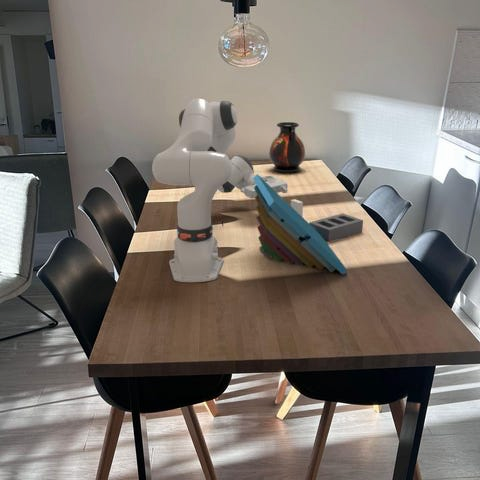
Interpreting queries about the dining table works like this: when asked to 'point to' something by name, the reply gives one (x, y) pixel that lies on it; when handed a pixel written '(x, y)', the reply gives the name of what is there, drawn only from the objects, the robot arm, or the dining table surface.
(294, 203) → the white rectangular block
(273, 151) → the black and orange vase
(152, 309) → the dining table surface
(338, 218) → the stand
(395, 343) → the dining table surface
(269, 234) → the stacked coloured sheets
